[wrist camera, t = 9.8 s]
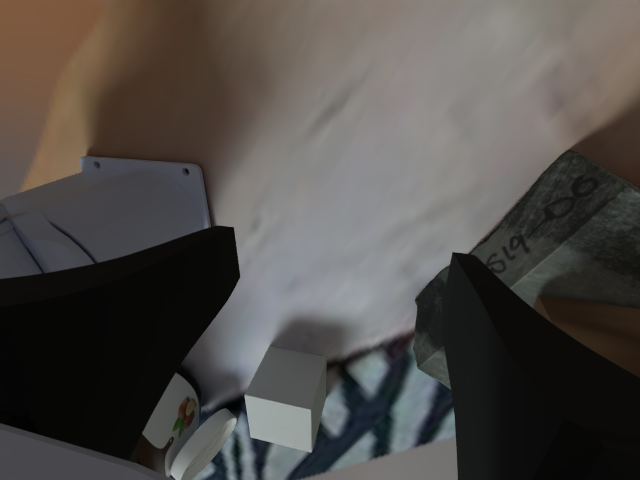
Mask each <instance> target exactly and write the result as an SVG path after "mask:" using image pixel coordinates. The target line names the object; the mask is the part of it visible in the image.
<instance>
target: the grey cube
mask: <svg viewBox="0 0 640 480" xmlns="http://www.w3.org/2000/svg"><path fill="white" fill-rule="evenodd" d="M326 370H327V357H324V356H319V355H313V354H308V353H303V352H298V351H292V350H287V349H282V348H277V347H272V346H269V348H268V350H267V352H266V354H265V356H264V358H263V360H262V362H261V363H260V365H259V367H258V369H257V371H256V373H255V375H254V377H253V379H252V381H251V383H250V385H249V387H248V389H247V391H246V393H245V402H246V408H247V415H248V422H249V428H250V435H251V437H252V438H256V439H260V440H264V441H268V442H272V443H275V444H279V445H283V446H287V447H291V448H295V449H299V450H303V451H307V452H311V453H312V449H313V446H314V442H315V438H316V434H317V430H318V427H319V423H320V419H321V415H322V411H323V408H324V404H325V400H326Z"/></svg>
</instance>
